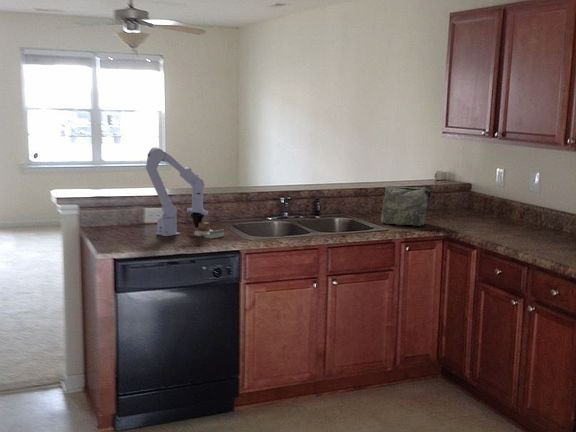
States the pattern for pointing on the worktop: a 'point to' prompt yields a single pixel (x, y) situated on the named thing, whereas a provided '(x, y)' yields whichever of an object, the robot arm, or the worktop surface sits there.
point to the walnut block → (204, 226)
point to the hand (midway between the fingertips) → (197, 227)
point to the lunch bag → (405, 205)
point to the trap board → (210, 233)
